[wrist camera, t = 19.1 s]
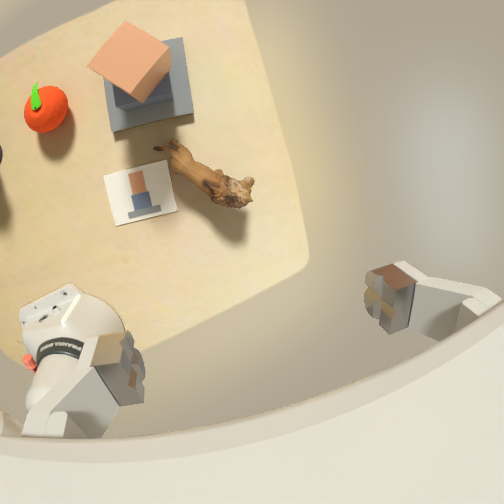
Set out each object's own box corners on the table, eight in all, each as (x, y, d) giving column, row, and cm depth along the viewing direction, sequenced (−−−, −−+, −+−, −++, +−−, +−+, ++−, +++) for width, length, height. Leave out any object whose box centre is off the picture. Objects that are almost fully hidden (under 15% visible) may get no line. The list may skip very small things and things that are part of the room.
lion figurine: (248, 174, 45) (265, 184, 37) (232, 205, 46) (245, 221, 38) (161, 132, 39) (157, 131, 31) (145, 165, 40) (138, 173, 32)
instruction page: (116, 225, 43) (115, 226, 43) (103, 175, 40) (102, 176, 39) (177, 210, 44) (177, 211, 44) (166, 159, 41) (166, 159, 41)
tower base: (114, 132, 38) (99, 131, 30) (103, 59, 33) (88, 45, 26) (193, 113, 39) (195, 108, 32) (182, 40, 35) (183, 21, 27)
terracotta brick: (142, 103, 30) (130, 93, 22) (108, 81, 28) (86, 65, 20) (172, 67, 30) (169, 46, 21) (137, 45, 27) (125, 20, 19)
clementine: (32, 94, 31) (11, 90, 25) (69, 75, 32) (51, 67, 26) (41, 139, 35) (20, 141, 28) (78, 122, 36) (61, 120, 29)
